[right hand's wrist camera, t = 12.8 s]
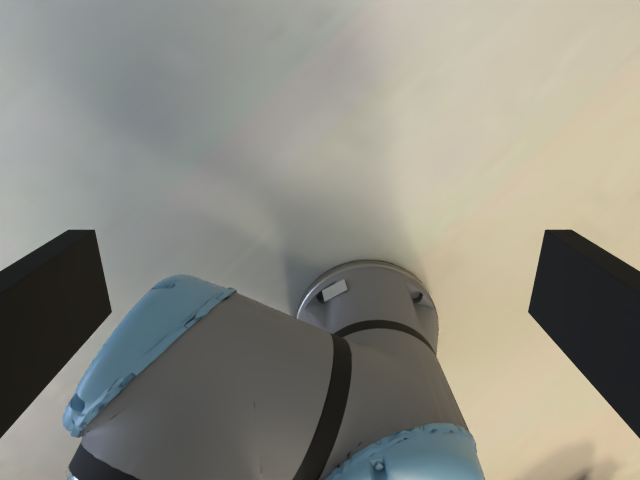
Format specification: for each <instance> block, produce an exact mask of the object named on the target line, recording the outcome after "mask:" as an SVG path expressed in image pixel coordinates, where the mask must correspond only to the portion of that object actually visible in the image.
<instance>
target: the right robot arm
mask: <svg viewBox="0 0 640 480" xmlns="http://www.w3.org/2000/svg"><path fill="white" fill-rule="evenodd" d="M236 292H237V290H236V289H234V288H227V289H226V288H224V287H221V286H218V285H215V284H212V283H210V282H207V281H204V280H201V279H199V278H196V277H193V276H190V275H174V276H171V277H169V278H166V279H164V280H163V281H161V282H159V283H158V284H156V285H155V286H154V287H153V288H152V289H151V290H150V291H149V292H147V293H146V294H145V295H144V296H143V297H142V298H141V299H140V301H139V302H138V303H137V304H136V305H135V306H134V307H133V308H132V309H131V311H130V312H129V313H128V314H127V315H126V317H125V318H124V319H123V320H122V322H121V323H120V324H119V325H118V327H117V328H116V329H115V331H114V332H113V333H112V335H111V336H110V337H109V339H108V340H107V341H106V343H105V344H104V345H103V347H102V348H101V350H100V351H99V353H98V354H97V356H96V357H95V359H94V360H93V361H92V363H91V365H90V366H89V368H88V369H87V371H86V372H85V374H84V376H83V377H82V379H81V381H80V382H79V384H78V386H77V389H76V393H75V394H74V396H73V397H72V399H71V401H70V402H69V404H68V405H67V407H66V410H65V412H64V415H63V426H64V427H65V428H66V429H67V430H68V431H70V434H71V436H73V437H77V438H79V437H81V436H83V437H82V441H81V443H80V445H79V447H78V449H77V451H76V453H75V455H74V457H73V459H72V461H71V463H70V464H69V466H68V468H67V470H66V477H67V480H485V477H484V474H483V471H482V468H481V465H480V462H479V459H478V457H477V450H476V443H475V440H474V438H473V436H472V435H471V433H470V432H469V430H468V428H467V425H466V423H465V421H464V418H463V416H462V414H461V412H460V409H459V407H458V405H457V403H456V400H455V398H454V396H453V393H452V391H451V389H450V387H449V384H448V382H447V380H446V377H445V375H444V373H443V371H442V368H441V366H440V364H439V362H438V359H437V357H436V353H437V342H438V330H439V328H438V317H437V312H436V308H435V306H434V303H433V301H432V299H431V297H430V295H429V293H428V292H427V290H426V288H425V287H424V286H423V284H422V283H421V282H420V281H419V280H418V279H417V278H416V277H415V276H413V275H412V274H411V273H409V272H408V271H406V270H404V269H403V268H400V267H398V266H396V265H393V264H390V263H386V262H381V261H370V260H367V261H355V262H350V263H346V264H343V265H340V266H338V267H335V268H333V269H331V270H329V271H328V272H326V273H324V274H323V275H322V276H320V277H319V278H318V279H317V280H316V281H315V282H314V283H313V284H312V285H311V286H310V287H309V288H308V289H307V291H306V292H305V294H304V296H303V298H302V300H301V302H300V304H299V307H298V311H297V317H296V318H294V317H292V316H290V315H287V314H285V313H283V312H280V311H278V310H275V309H273V308H271V307H268V306H266V305H264V304H261V303H259V302H257V301H254V300H252V299H250V298H247V297H245V296H243V295H240V294H238V293H236ZM111 312H112V310H111V305H110V301H109V296H108V291H107V286H106V281H105V277H104V272H103V267H102V262H101V257H100V253H99V248H98V243H97V238H96V233H95V230H67V231H66V232H64V233H62V234H61V235H59V236H57V237H56V238H54V239H53V240H51V241H49V242H48V243H46V244H44V245H43V246H41V247H39V248H38V249H36V250H35V251H33V252H31V253H30V254H28V255H26V256H25V257H23V258H21V259H20V260H18V261H16V262H15V263H13V264H12V265H10V266H8V267H7V268H5V269H3V270H2V271H0V438H1V437H2V436H3V435H4V434H5V432H6V431H7V430H8V429H9V428H10V427H11V426H12V425H13V423H14V422H15V421H16V420H17V419H18V418H19V417H20V415H21V414H22V413H23V412H24V411H25V410H26V409H27V408H28V406H29V405H30V404H31V403H32V402H33V401H34V400H35V398H36V397H37V396H38V395H39V394H40V393H41V392H42V391H43V389H44V388H45V387H46V386H47V385H48V384H49V383H50V381H51V380H52V379H53V378H54V377H55V376H56V375H57V374H58V372H59V371H60V370H61V369H62V368H63V367H64V366H65V365H66V363H67V362H68V361H69V360H70V359H71V358H72V357H73V355H74V354H75V353H76V352H77V351H78V350H79V349H80V348H81V346H82V345H83V344H84V343H85V342H86V341H87V340H88V338H89V337H90V336H91V335H92V334H93V333H94V332H95V331H96V329H97V328H98V327H99V326H100V325H101V324H102V323H103V321H104V320H105V319H106V318H107V317H108V316H109V315H110V314H111ZM528 312H529V314H530V315H531V316H532V317H533V318H534V319H535V320H536V321H537V323H538V324H539V325H540V326H541V327H542V328H543V329H544V331H545V332H546V333H547V334H548V335H549V336H550V337H551V338H552V340H553V341H554V342H555V343H556V344H557V345H558V346H559V348H560V349H561V350H562V351H563V352H564V353H565V354H566V355H567V357H568V358H569V359H570V360H571V361H572V362H573V363H574V365H575V366H576V367H577V368H578V369H579V370H580V371H581V372H582V374H583V375H584V376H585V377H586V378H587V379H588V380H589V381H590V383H591V384H592V385H593V386H594V387H595V388H596V389H597V391H598V392H599V393H600V394H601V395H602V396H603V397H604V398H605V400H606V401H607V402H608V403H609V404H610V405H611V406H612V408H613V409H614V410H615V411H616V412H617V413H618V414H619V415H620V417H621V418H622V419H623V420H624V421H625V422H626V423H627V425H628V426H629V427H630V428H631V429H632V430H633V431H634V432H635V434H636V435H637V436H638V437H639V438H640V271H638V270H637V269H635V268H633V267H632V266H630V265H628V264H627V263H625V262H623V261H622V260H620V259H619V258H617V257H615V256H614V255H612V254H610V253H609V252H607V251H605V250H604V249H602V248H601V247H599V246H597V245H596V244H594V243H592V242H591V241H589V240H587V239H586V238H584V237H583V236H581V235H579V234H578V233H576V232H574V231H573V230H545V233H544V238H543V243H542V248H541V253H540V257H539V262H538V267H537V272H536V277H535V281H534V286H533V291H532V296H531V301H530V305H529V310H528Z"/></svg>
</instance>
